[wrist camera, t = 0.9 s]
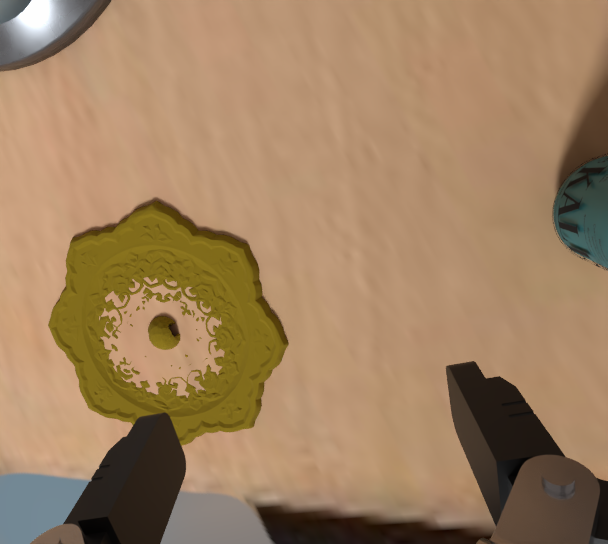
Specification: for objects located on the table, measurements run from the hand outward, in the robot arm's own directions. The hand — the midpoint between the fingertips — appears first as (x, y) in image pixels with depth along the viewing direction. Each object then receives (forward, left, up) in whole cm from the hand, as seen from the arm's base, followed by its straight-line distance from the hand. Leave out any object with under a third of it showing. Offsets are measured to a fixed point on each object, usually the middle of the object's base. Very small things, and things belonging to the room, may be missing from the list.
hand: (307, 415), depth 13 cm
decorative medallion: (+11, -12, -21) cm, 26 cm away
